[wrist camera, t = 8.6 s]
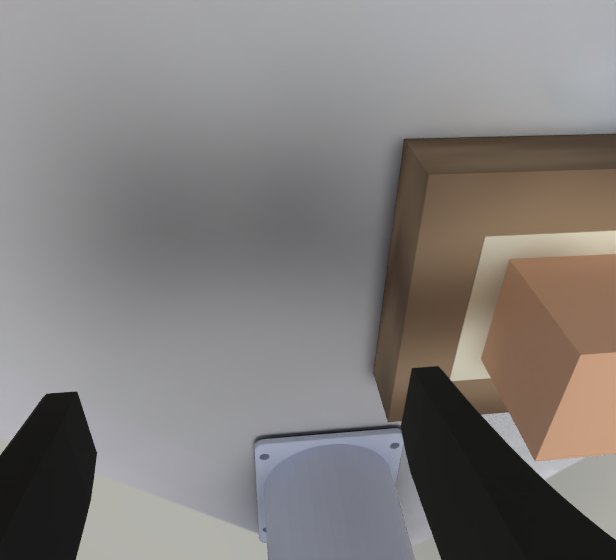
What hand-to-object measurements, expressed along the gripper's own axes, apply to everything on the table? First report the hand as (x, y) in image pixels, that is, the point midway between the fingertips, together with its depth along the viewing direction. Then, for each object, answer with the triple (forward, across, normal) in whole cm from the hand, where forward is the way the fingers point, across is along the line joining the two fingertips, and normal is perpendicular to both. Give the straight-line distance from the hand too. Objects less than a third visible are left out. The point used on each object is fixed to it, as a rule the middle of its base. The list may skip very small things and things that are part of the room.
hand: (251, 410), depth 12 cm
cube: (+7, -12, +4) cm, 15 cm away
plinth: (+10, -12, +4) cm, 16 cm away
